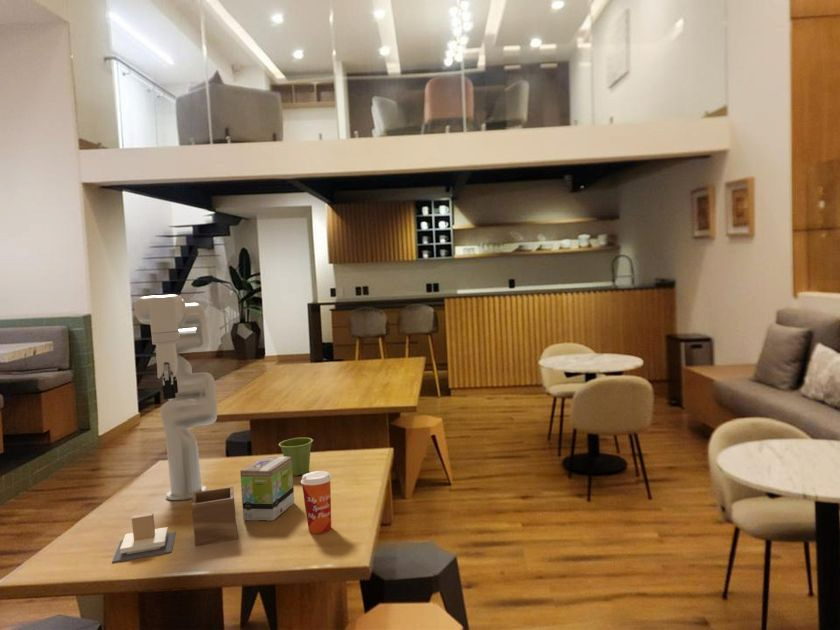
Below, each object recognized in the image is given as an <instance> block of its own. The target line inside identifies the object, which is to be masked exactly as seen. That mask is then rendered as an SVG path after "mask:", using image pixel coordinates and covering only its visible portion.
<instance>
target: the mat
mask: <svg viewBox="0 0 840 630" xmlns="http://www.w3.org/2000/svg"><path fill="white" fill-rule="evenodd" d="M175 537H176V531H171V532H168V534H167V538H166V543H165V546H161V548H160V549H155V550H149V551H144V552H138V553H132V554H127V552H126V553H121V554H120V547H121V545H122V542H123V540H124V539H123V540H120V542H119V544H118V546H117V549H116V551H115V554H114V556H113V558H112V561H111V563H112V564H114V562H115V563H121V562H126V561H132V560H136V559H143V558H149V557H154V556H161V555H164V554H165V555H166V554H171V553H173V549H174V548H173V547H174V544H175Z"/></svg>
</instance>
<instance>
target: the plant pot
mask: <svg viewBox="0 0 840 630" xmlns="http://www.w3.org/2000/svg"><path fill="white" fill-rule="evenodd" d="M313 441H314V439H312V438H311V437H294V438H289V439H286V440H285V439H284V440H283V441H280V442H279V443H278V447H280V449H281V452H282V456H283V457H291V459H292V472H293V477H297V476H299V475H300V476H303V475H304V474H306V473H310V463H311V462H310V461H311V449H312V443H313Z"/></svg>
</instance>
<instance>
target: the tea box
mask: <svg viewBox="0 0 840 630" xmlns="http://www.w3.org/2000/svg"><path fill="white" fill-rule="evenodd" d="M239 473H240V487H241V489H240V490H241V504H242V505H241V506H242V518H243V520H244V521H258V520H267V521H268V522H269V521H275V520H276V519H277V518H278V517H279V516H280V515H281V514H283V513H284V512H285V511H286V510H288V508H289V507H291V506H292V505H294V503H295V491H294V476H293V472H292V459H291V457H284V456H262V457H260V458H258V459H257V460H255V461H254V462H252V463H251V464H249V465H247V466H246V467H244V468H242V469H241V470H240V472H239Z"/></svg>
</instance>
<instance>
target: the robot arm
mask: <svg viewBox="0 0 840 630" xmlns="http://www.w3.org/2000/svg"><path fill="white" fill-rule="evenodd" d="M133 308H134V310H133V311H134V314H135V317H136V319H137V320H138V321H139V323H141V324H144V325H149V326H150V333H151V342H152V343H151V344H152V345H155V355H156V356H155V358H156V371H157V378H158V379H162V394H163V395H162V396H163V400H168V401H166V402H164V403H163V404H162V405H161V408H160V419H161V422H162V426H163V430H164V435H165V443H166V451H167V452H166V453H167V462H168V463H167V465H168V473H169V474H168V475H169V484H170V490H169V491H167V492H166V493H165V497H166V499H167V500H170V501H186V500H190V499H191V500H192V498H193V493H195V492H202V491H208V489H207V488H208V487H207V486H205V485H203V484H202V479H201V478H202V477H201V467H200V465H201V464H200V456H199V447H198V445H199V444H198V439H197V437H196V435H195V434H194V433H193V432H192V431H191V430H190V429H191V428H192V427H194V428H195V427H202V426H203V427H204V426H209V425H212V424H214V423H216V421H217V418H218V404H217V403H218V401H217V389H216V383H215V382H216V380H215V378H214V377H213V374H211V373H209V372H204V371H203V372H193V369H192V368H193V367H192V365H191V363H190V362H189V361H188V360H187V359H185V358H184V357H183V356H181V355H180V354H184V353H185V354H186V353H193V352H196V353H197V352H203V351H206V350H207V349H208V348H209V345H210V338H209V336H210V335H209V329H208V322H207V317H206V311H205V309H204V307H203V305H201V304H200V303H197V302H190V303H186V301H185V299H184V298H183V297H182V296H181V295H179V294H162V295H161V294H159V295H147V296H145V295H144V296H140V297H138V298H136V300H135V302H134V307H133ZM189 428H190V429H189Z"/></svg>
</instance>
